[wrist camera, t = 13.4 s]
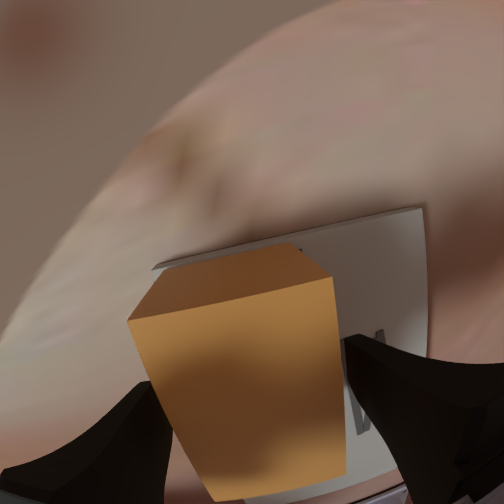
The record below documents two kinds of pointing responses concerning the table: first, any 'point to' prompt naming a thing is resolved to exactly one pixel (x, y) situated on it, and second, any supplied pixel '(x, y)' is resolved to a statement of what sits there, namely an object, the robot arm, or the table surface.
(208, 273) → the block
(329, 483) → the board
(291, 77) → the table surface
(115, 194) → the table surface
